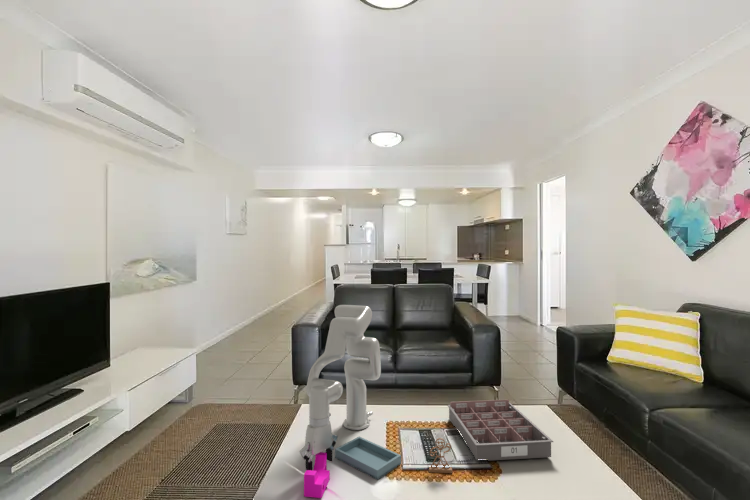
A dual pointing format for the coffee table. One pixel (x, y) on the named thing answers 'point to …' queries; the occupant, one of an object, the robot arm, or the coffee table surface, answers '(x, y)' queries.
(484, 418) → the organizer tray
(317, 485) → the toy block
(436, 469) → the wooden figure on stand
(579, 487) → the coffee table surface
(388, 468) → the slate tray
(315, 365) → the robot arm
